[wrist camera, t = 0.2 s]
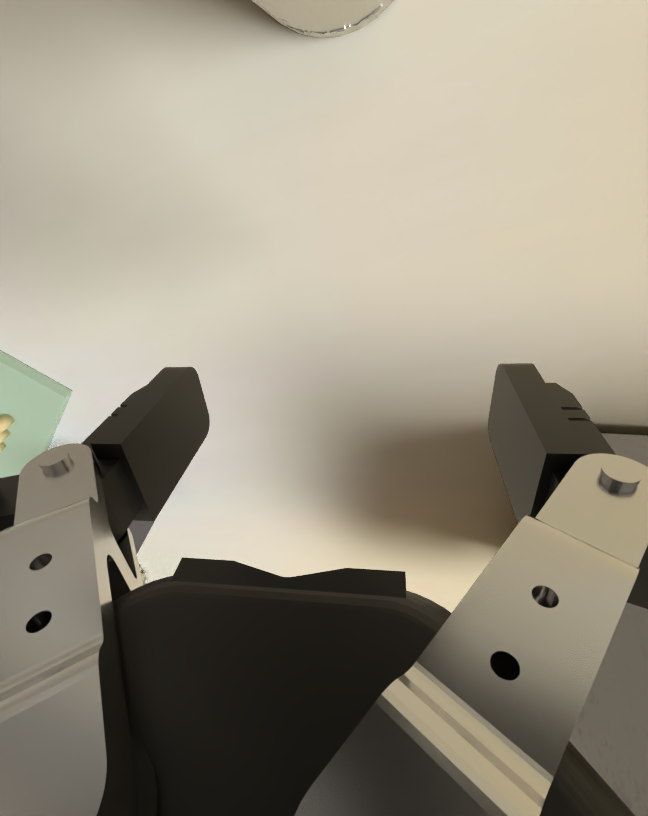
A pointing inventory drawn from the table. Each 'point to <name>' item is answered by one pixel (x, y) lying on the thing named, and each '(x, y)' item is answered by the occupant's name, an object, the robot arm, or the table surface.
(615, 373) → the table surface
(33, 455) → the board
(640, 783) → the vintage electronic device
